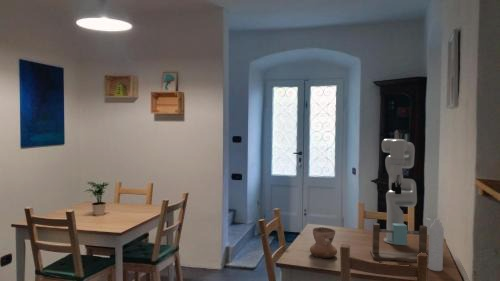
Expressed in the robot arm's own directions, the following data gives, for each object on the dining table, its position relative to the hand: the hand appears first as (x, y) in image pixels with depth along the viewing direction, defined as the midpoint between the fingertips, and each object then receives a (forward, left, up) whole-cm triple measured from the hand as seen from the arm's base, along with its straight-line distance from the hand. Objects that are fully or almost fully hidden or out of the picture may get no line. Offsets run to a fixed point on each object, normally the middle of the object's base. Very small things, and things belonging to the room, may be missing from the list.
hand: (396, 192), depth 225 cm
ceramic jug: (+15, -40, -34) cm, 54 cm away
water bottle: (+26, +13, -33) cm, 44 cm away
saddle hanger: (+11, 0, -26) cm, 28 cm away
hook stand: (+11, 0, -33) cm, 35 cm away
